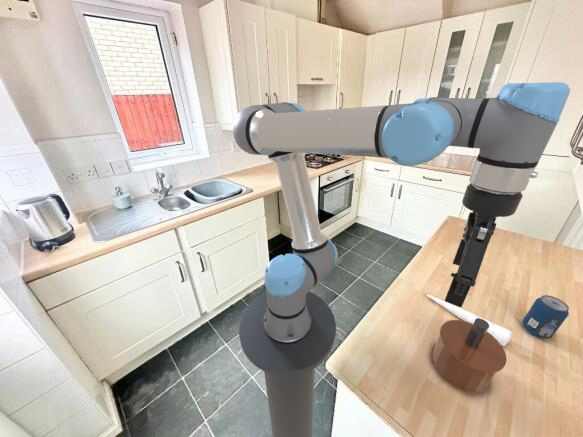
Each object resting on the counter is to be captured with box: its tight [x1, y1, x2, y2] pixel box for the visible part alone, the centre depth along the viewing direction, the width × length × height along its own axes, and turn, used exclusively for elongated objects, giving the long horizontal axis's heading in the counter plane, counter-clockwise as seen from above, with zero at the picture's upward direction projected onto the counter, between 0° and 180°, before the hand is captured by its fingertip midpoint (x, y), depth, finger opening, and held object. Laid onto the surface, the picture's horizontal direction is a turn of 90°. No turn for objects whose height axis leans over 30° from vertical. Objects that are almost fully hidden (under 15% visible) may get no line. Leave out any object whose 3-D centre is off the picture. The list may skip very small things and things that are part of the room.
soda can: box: [521, 294, 570, 340], centre depth 71 cm, size 7×7×12 cm
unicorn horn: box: [426, 294, 513, 347], centre depth 78 cm, size 5×24×5 cm, turn 32°
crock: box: [432, 335, 497, 393], centre depth 63 cm, size 13×13×10 cm
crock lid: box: [439, 318, 508, 374], centre depth 59 cm, size 14×14×9 cm
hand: (456, 282), depth 51 cm, fingers open, 13 cm apart
